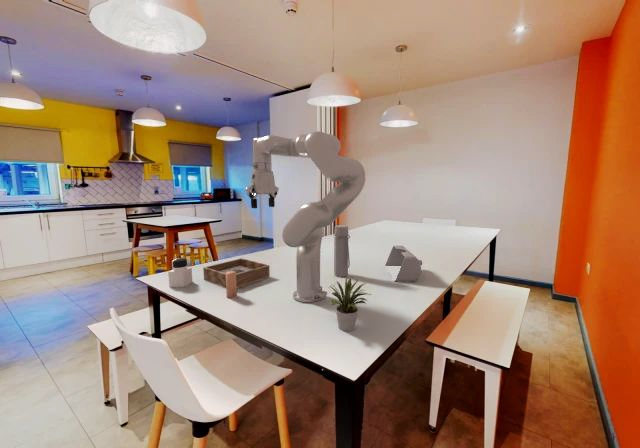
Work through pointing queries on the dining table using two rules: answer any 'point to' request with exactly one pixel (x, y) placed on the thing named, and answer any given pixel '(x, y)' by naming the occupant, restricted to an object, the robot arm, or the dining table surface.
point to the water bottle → (341, 251)
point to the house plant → (347, 305)
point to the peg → (231, 284)
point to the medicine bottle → (180, 273)
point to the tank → (404, 263)
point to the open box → (242, 279)
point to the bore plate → (236, 269)
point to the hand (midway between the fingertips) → (263, 207)
